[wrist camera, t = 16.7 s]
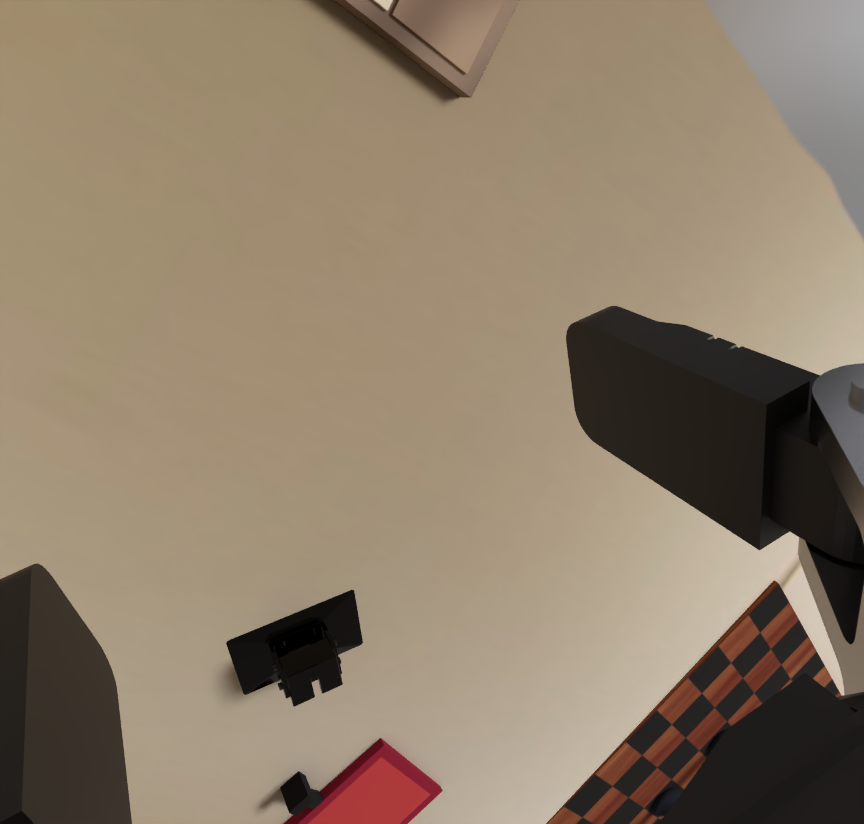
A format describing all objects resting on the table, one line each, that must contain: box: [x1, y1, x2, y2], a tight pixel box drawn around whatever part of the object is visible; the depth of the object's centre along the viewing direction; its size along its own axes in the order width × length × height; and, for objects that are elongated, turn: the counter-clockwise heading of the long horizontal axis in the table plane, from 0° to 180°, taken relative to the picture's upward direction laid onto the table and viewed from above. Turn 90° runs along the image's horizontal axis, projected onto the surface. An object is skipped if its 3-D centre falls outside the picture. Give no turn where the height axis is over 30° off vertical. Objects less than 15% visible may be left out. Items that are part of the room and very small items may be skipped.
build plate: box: [226, 590, 363, 706], centre depth 49 cm, size 12×7×5 cm, turn 95°
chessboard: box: [546, 581, 841, 824], centre depth 85 cm, size 40×40×11 cm
